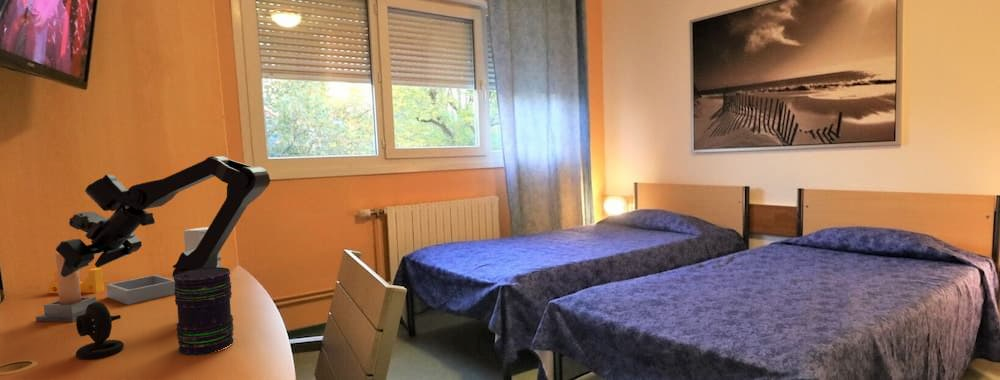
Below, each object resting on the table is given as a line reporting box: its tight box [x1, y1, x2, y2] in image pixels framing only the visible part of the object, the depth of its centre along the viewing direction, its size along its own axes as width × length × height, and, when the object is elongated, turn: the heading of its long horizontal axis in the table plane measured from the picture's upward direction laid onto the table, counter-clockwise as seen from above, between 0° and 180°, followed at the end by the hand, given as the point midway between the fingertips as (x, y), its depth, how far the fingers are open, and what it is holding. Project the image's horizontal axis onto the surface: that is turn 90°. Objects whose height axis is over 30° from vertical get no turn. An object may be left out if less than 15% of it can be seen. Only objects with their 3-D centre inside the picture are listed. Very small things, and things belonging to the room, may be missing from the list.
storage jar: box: [173, 266, 235, 357], centre depth 105 cm, size 10×10×15 cm
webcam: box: [75, 301, 125, 360], centre depth 103 cm, size 8×8×10 cm
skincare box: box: [183, 226, 222, 268], centre depth 162 cm, size 8×6×15 cm
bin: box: [106, 274, 175, 305], centre depth 142 cm, size 12×12×4 cm
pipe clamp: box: [48, 267, 105, 294], centre depth 146 cm, size 12×4×6 cm, turn 86°
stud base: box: [35, 296, 97, 323], centre depth 126 cm, size 9×9×4 cm
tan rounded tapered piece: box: [55, 252, 82, 304], centre depth 125 cm, size 4×4×14 cm
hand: (80, 270), depth 125 cm, fingers open, 9 cm apart
